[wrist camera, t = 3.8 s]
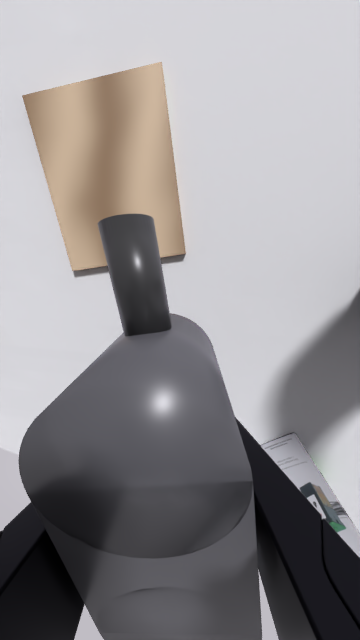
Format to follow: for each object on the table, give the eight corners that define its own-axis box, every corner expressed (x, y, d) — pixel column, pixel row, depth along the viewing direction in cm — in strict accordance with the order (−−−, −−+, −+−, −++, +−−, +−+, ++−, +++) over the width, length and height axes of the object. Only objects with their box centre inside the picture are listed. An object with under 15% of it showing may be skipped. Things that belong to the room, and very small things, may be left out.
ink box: (322, 480, 22) (466, 705, 11) (283, 493, 23) (377, 714, 12) (294, 430, 20) (431, 638, 9) (253, 446, 21) (328, 655, 10)
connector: (200, 224, 6) (231, 109, 2) (232, 518, 10) (266, 713, 6) (86, 243, 6) (-132, 190, 2) (160, 521, 10) (138, 708, 6)
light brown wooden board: (162, 71, 13) (161, 61, 12) (185, 253, 16) (185, 253, 15) (29, 102, 13) (22, 95, 13) (76, 270, 16) (72, 270, 16)
